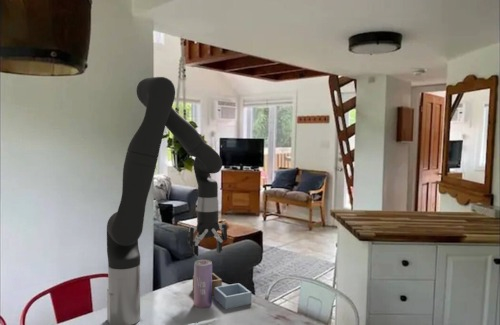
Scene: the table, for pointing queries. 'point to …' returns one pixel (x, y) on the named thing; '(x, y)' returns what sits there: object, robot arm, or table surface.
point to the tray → (232, 295)
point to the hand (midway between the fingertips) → (207, 253)
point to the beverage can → (203, 283)
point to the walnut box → (213, 282)
